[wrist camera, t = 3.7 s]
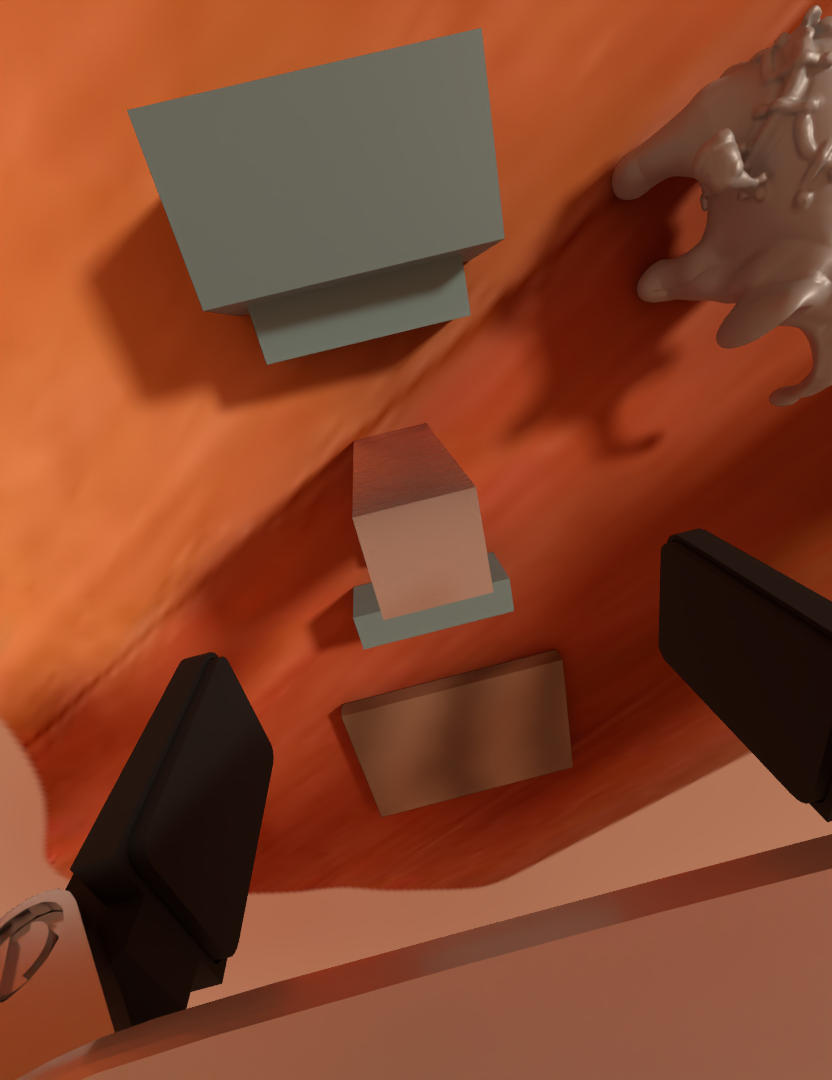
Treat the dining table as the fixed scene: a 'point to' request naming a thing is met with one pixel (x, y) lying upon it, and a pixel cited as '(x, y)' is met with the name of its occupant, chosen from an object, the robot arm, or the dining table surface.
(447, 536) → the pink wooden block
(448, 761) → the walnut board
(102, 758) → the dining table surface
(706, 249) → the grey monster figurine
